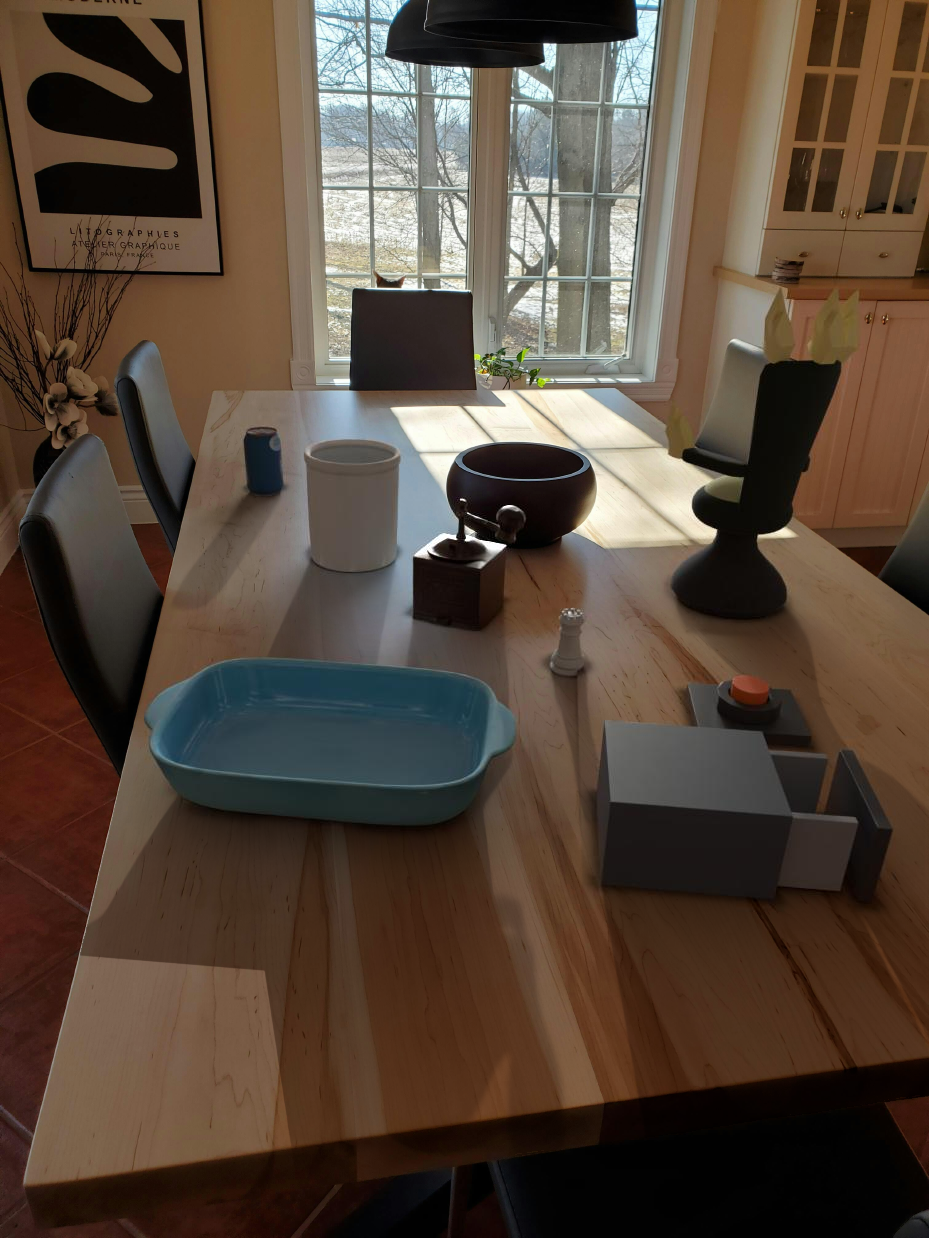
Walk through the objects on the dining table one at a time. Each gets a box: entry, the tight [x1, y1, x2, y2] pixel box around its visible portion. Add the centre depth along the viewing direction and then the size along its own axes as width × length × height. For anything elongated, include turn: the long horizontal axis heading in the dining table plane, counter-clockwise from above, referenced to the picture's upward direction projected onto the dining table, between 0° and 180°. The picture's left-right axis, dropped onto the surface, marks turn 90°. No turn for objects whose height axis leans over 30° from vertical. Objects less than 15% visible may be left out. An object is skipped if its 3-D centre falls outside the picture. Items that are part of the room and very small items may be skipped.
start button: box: [730, 674, 771, 705], centre depth 101 cm, size 4×4×2 cm
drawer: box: [769, 748, 894, 903], centre depth 80 cm, size 15×11×8 cm
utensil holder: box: [303, 438, 402, 573], centre depth 141 cm, size 15×15×18 cm
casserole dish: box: [143, 657, 517, 826], centre depth 91 cm, size 37×22×7 cm, turn 85°
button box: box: [685, 679, 813, 748], centre depth 102 cm, size 12×10×4 cm
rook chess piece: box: [549, 607, 586, 678], centre depth 111 cm, size 4×4×8 cm
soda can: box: [242, 426, 285, 497], centre depth 171 cm, size 7×7×12 cm
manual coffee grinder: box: [412, 498, 527, 631], centre depth 123 cm, size 16×11×18 cm
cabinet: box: [595, 719, 793, 901], centre depth 81 cm, size 15×13×10 cm
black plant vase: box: [664, 286, 860, 619], centre depth 123 cm, size 19×22×45 cm
